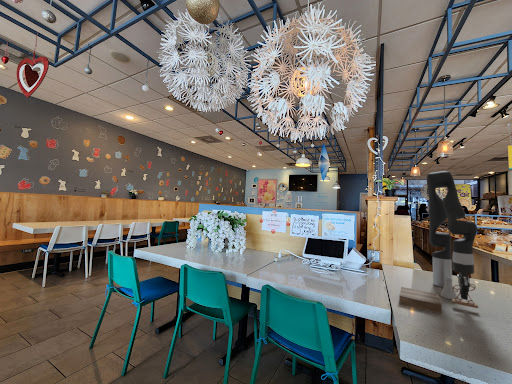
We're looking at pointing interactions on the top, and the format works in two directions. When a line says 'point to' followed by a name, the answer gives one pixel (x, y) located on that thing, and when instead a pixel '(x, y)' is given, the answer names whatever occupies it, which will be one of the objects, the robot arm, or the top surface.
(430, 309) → the walnut plinth
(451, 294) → the flask
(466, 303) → the gingerbread man figurine
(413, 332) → the top surface
